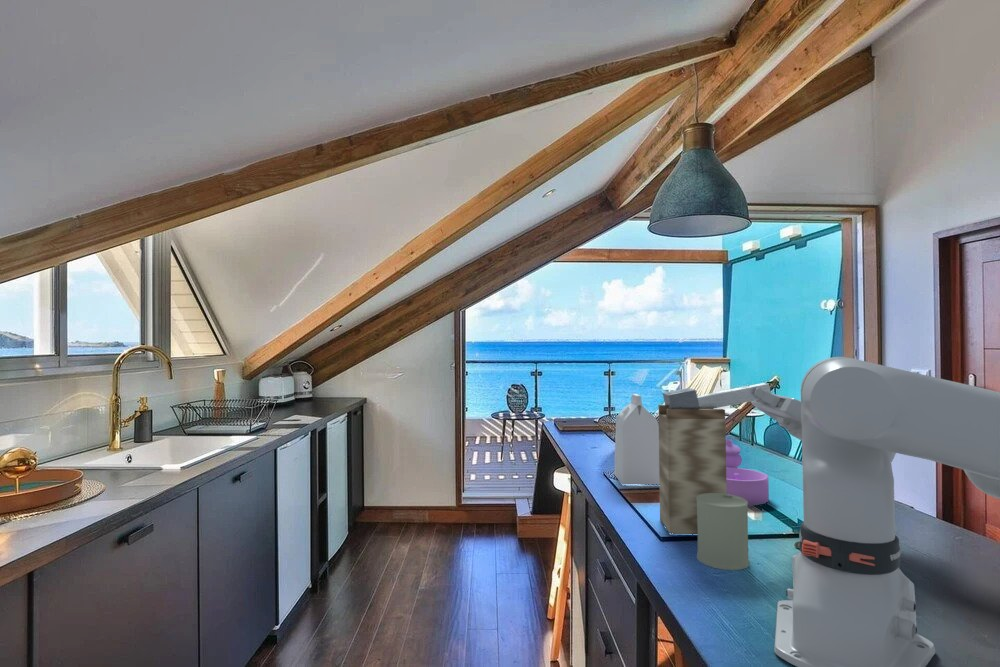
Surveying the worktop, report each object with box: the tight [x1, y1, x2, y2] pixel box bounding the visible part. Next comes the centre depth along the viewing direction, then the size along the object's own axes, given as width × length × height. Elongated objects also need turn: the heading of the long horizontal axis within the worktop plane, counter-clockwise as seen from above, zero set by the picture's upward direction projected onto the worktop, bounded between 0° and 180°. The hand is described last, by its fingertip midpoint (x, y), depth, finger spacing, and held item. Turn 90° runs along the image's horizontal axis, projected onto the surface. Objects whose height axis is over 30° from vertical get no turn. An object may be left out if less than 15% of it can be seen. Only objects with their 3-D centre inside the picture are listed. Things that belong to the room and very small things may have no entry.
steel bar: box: [662, 382, 772, 409], centre depth 119 cm, size 22×6×5 cm, turn 85°
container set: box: [726, 438, 770, 505], centre depth 147 cm, size 25×15×13 cm, turn 165°
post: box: [658, 404, 727, 535], centre depth 119 cm, size 12×10×27 cm
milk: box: [613, 393, 660, 484], centre depth 161 cm, size 12×12×26 cm
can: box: [696, 493, 751, 571], centre depth 101 cm, size 9×9×12 cm
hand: (750, 390), depth 118 cm, fingers closed on steel bar, 3 cm apart
